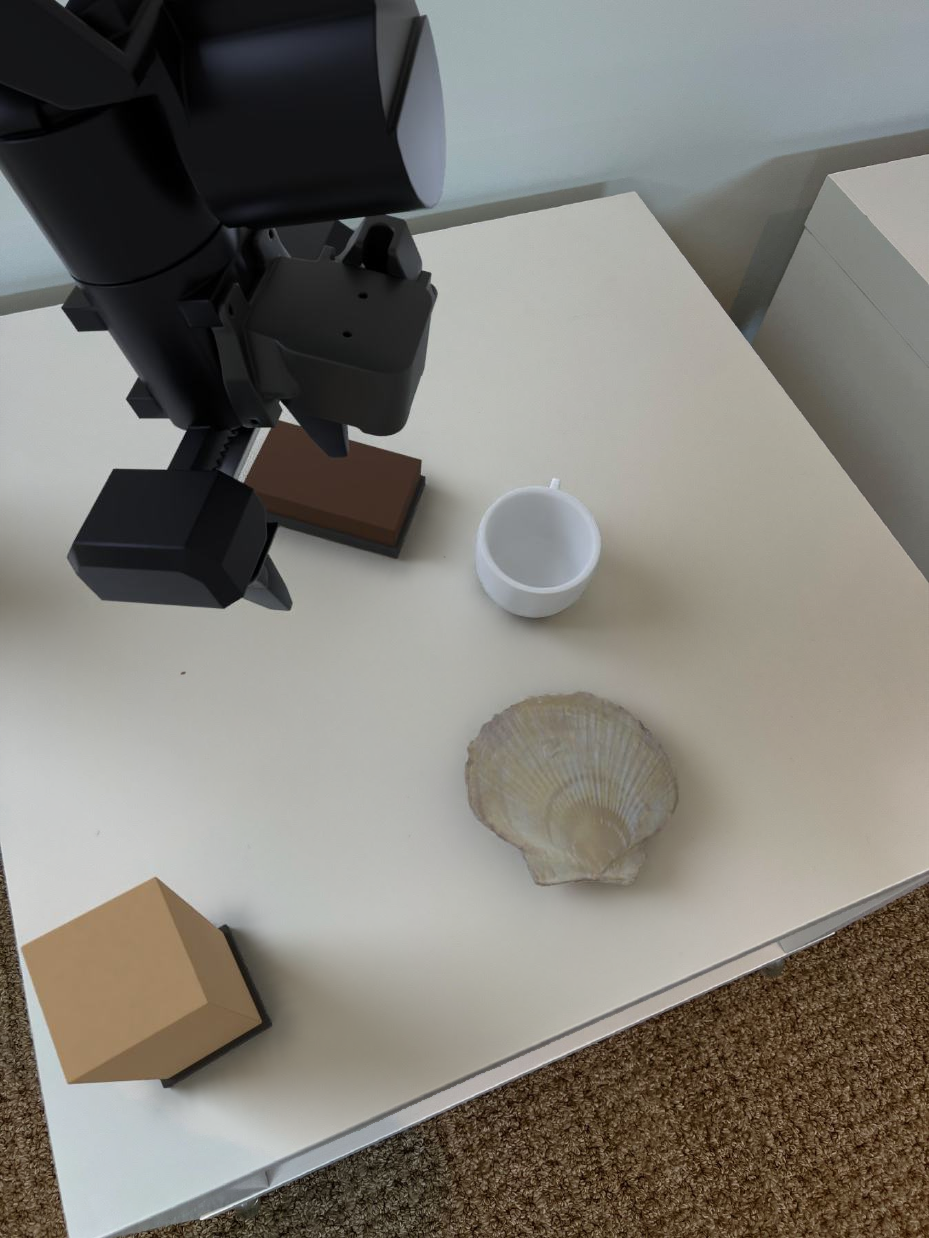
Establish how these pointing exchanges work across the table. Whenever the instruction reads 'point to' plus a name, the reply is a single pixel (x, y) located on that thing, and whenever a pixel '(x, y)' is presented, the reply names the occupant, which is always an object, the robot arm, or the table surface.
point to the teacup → (537, 550)
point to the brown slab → (337, 490)
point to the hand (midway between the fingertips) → (312, 527)
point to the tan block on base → (143, 989)
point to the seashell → (571, 786)
